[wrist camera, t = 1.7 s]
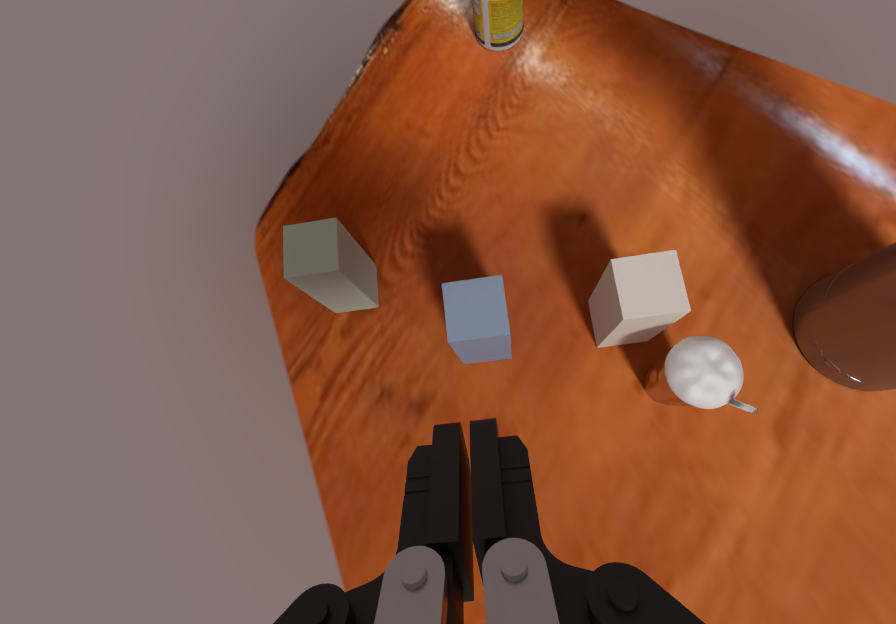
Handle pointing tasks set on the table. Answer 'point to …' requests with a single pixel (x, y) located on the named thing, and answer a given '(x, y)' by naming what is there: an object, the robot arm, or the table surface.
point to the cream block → (637, 298)
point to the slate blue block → (477, 319)
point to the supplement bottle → (498, 23)
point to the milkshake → (697, 375)
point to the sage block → (329, 265)
